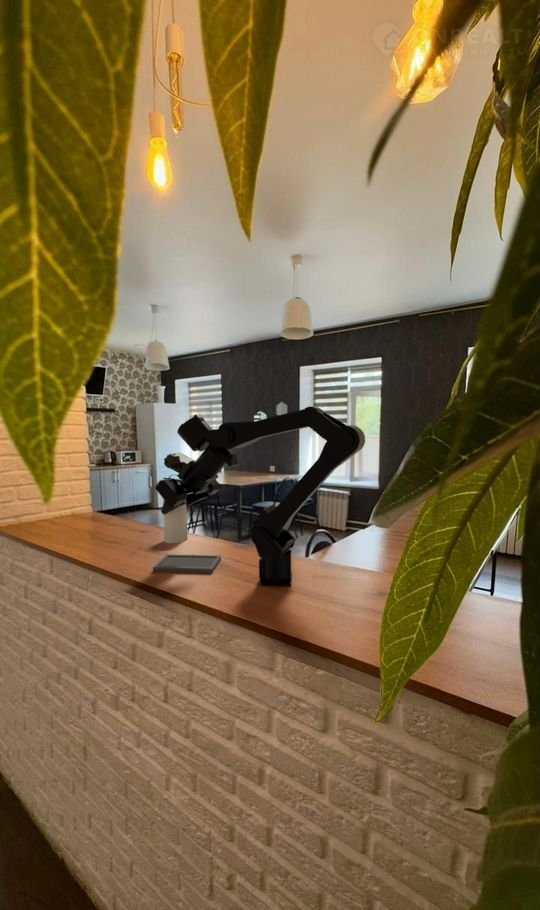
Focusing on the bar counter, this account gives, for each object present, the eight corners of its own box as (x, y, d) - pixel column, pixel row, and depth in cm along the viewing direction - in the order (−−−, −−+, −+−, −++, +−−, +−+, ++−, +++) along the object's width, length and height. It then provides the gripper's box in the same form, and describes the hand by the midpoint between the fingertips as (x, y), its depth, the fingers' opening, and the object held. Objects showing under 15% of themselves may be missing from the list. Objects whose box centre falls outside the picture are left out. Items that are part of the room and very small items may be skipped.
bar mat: (221, 559, 100) (220, 555, 100) (212, 573, 91) (212, 568, 91) (166, 558, 102) (166, 554, 101) (152, 571, 93) (152, 567, 93)
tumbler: (188, 536, 100) (186, 482, 99) (187, 542, 94) (184, 485, 93) (165, 537, 99) (163, 483, 98) (162, 544, 93) (160, 486, 92)
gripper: (207, 439, 102) (173, 481, 107) (160, 443, 85) (122, 492, 90) (236, 470, 99) (199, 512, 104) (193, 481, 82) (152, 529, 87)
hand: (170, 510), depth 96 cm, fingers closed on tumbler, 5 cm apart
